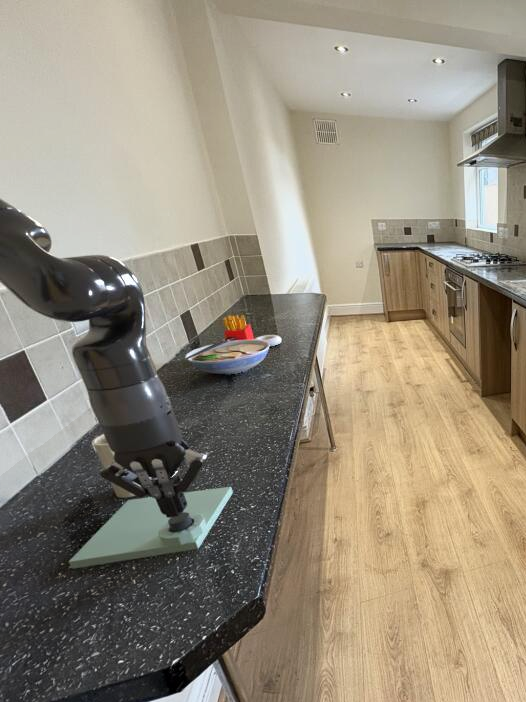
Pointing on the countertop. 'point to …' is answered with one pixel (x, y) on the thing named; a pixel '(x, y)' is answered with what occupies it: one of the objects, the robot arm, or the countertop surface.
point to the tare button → (180, 522)
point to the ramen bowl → (228, 356)
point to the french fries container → (237, 328)
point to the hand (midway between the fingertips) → (176, 513)
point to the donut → (270, 339)
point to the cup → (108, 462)
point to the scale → (151, 529)
